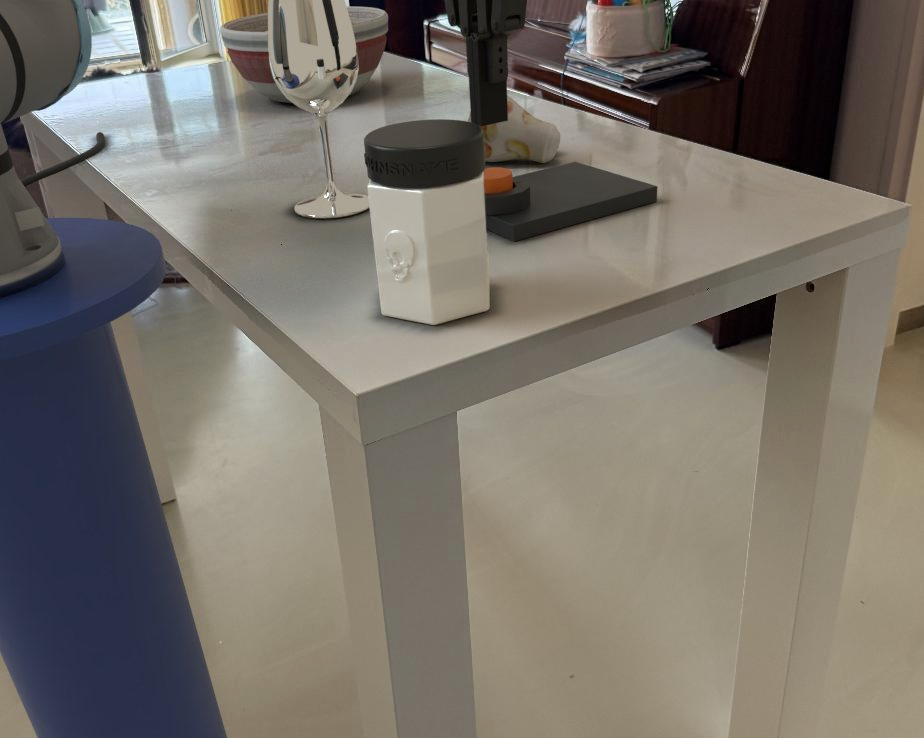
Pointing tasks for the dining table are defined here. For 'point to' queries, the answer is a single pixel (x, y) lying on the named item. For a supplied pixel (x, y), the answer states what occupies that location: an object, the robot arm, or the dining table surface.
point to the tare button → (498, 180)
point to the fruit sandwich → (520, 137)
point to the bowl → (252, 52)
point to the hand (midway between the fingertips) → (489, 121)
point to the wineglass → (316, 80)
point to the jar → (429, 219)
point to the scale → (562, 199)
